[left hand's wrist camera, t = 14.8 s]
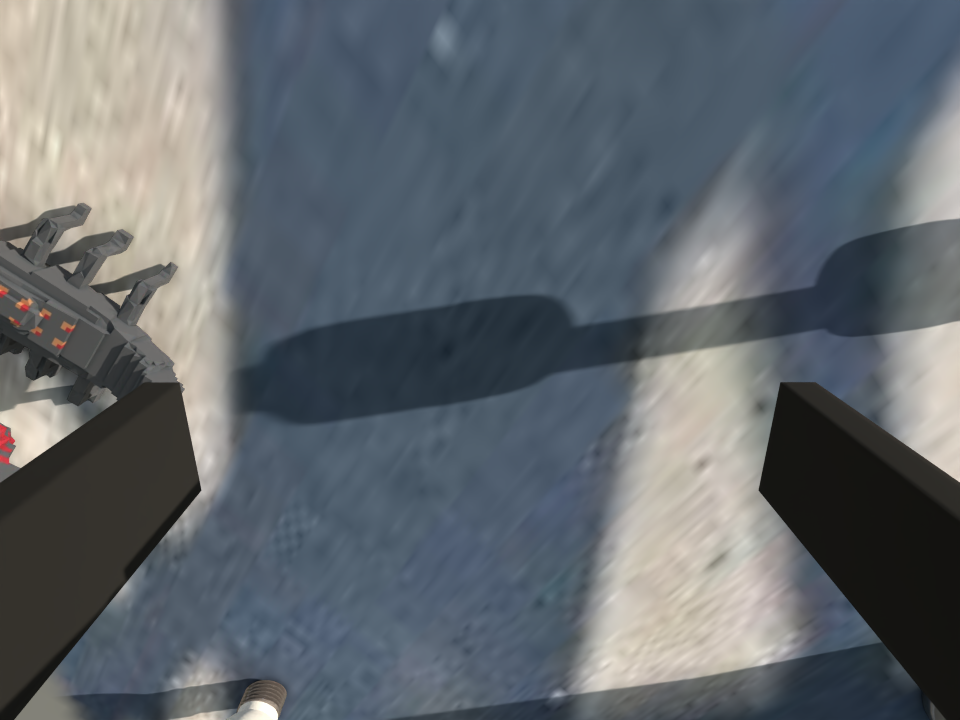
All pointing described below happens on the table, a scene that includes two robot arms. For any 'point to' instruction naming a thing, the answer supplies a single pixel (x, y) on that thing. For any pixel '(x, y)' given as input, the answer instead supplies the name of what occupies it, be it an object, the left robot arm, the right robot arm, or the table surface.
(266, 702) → the light bulb
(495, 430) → the table surface
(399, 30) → the table surface
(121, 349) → the toy
